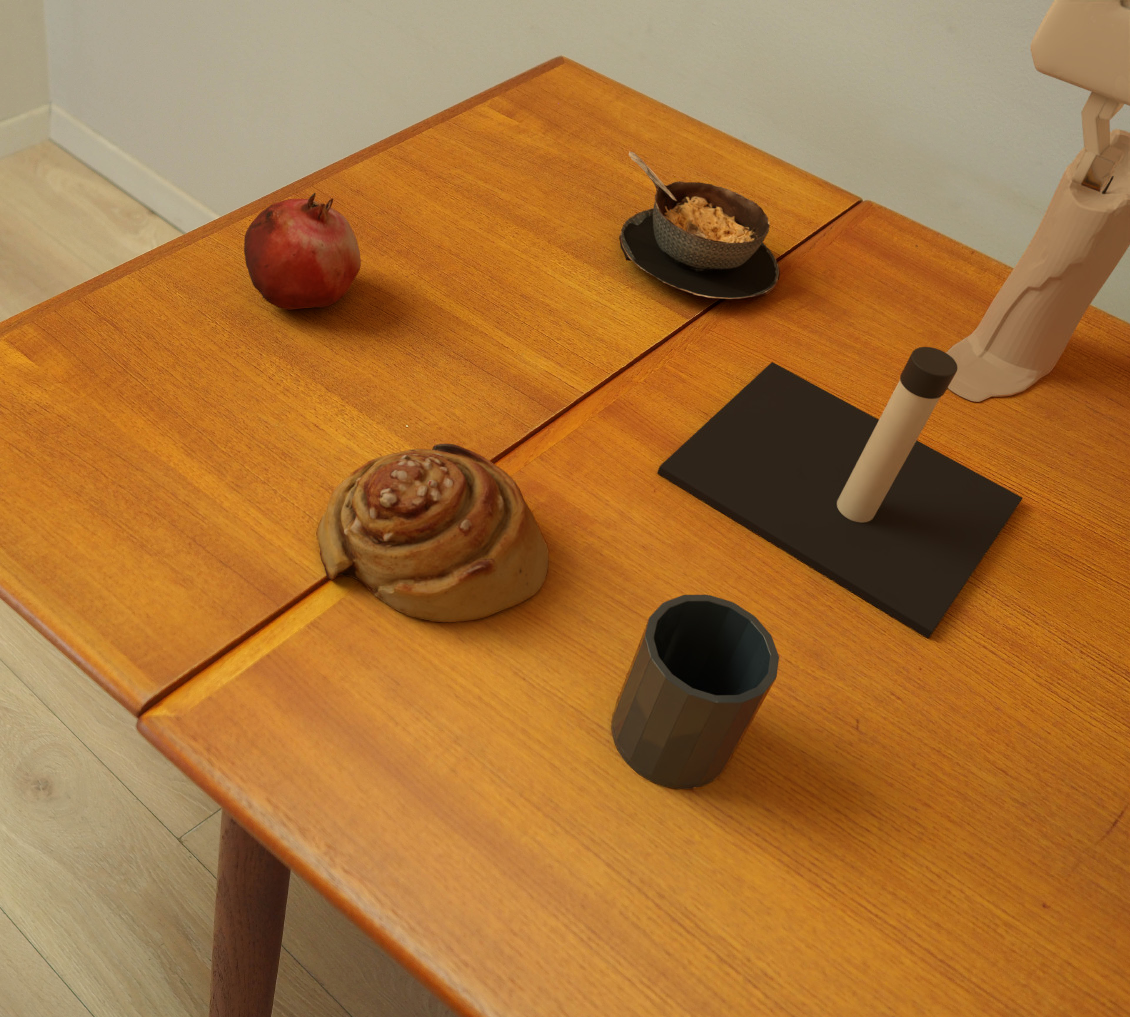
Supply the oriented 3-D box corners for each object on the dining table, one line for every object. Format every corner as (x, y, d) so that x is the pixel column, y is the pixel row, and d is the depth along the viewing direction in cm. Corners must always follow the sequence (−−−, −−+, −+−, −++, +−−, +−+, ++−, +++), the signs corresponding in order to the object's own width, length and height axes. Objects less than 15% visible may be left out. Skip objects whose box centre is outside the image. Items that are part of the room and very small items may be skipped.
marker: (882, 509, 85) (964, 361, 75) (865, 530, 83) (947, 382, 73) (845, 488, 86) (922, 340, 76) (828, 508, 84) (904, 360, 74)
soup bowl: (682, 327, 99) (706, 255, 94) (578, 229, 108) (595, 157, 103) (809, 290, 106) (837, 220, 100) (700, 200, 114) (722, 131, 109)
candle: (916, 370, 99) (1026, 159, 85) (997, 318, 106) (1112, 115, 92) (989, 417, 96) (1117, 206, 81) (1067, 360, 103) (1198, 156, 88)
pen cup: (752, 733, 71) (801, 645, 64) (691, 813, 66) (737, 727, 60) (652, 664, 74) (689, 573, 67) (587, 736, 69) (620, 647, 63)
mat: (1018, 504, 88) (1023, 497, 88) (928, 639, 78) (933, 631, 77) (769, 368, 97) (772, 361, 96) (656, 473, 86) (659, 465, 86)
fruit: (220, 292, 95) (217, 184, 88) (303, 250, 101) (306, 146, 93) (298, 345, 92) (301, 237, 84) (380, 298, 97) (389, 194, 90)
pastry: (293, 507, 79) (295, 421, 74) (488, 462, 85) (504, 378, 79) (363, 655, 71) (372, 571, 66) (573, 594, 77) (598, 512, 71)
